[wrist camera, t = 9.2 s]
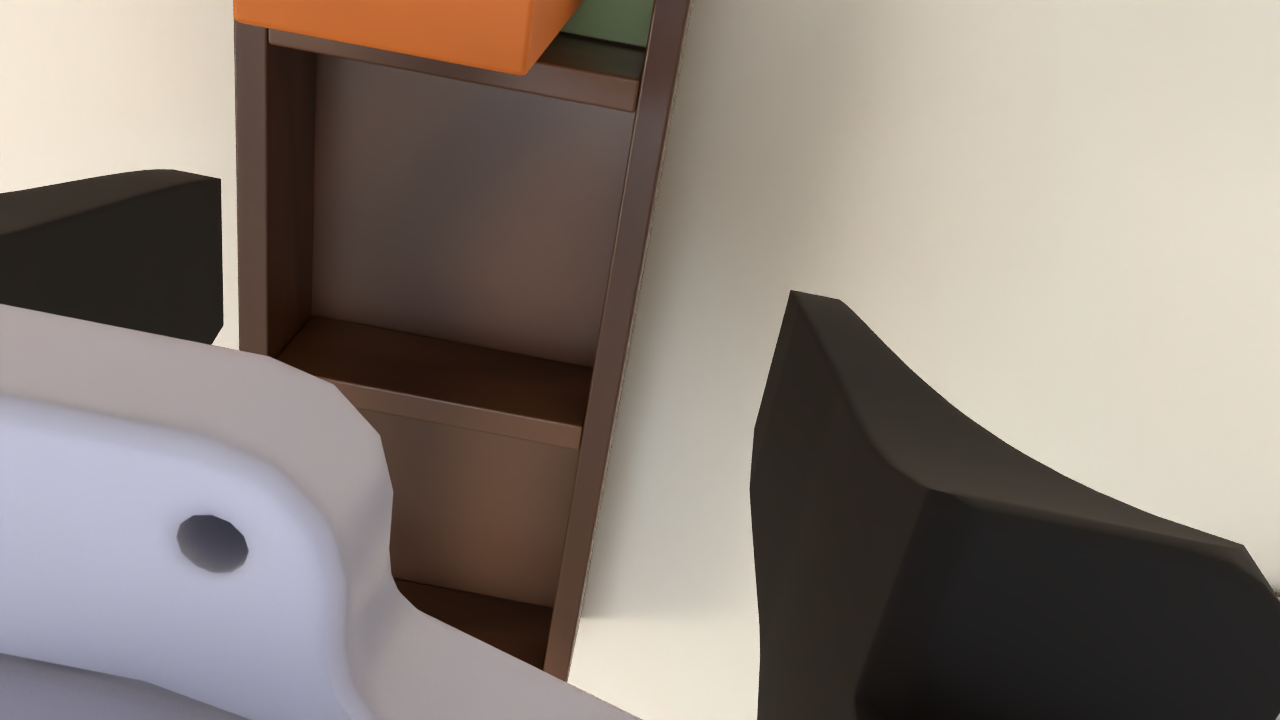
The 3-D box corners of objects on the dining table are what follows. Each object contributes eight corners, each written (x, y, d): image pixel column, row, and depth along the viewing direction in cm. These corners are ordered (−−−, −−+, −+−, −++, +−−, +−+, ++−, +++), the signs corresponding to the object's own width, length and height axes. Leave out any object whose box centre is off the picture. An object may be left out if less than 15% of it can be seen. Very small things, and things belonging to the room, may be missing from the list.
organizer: (763, -386, 18) (766, -416, 15) (580, 619, 28) (563, 703, 25) (299, -473, 18) (223, -519, 15) (289, 564, 28) (243, 642, 25)
